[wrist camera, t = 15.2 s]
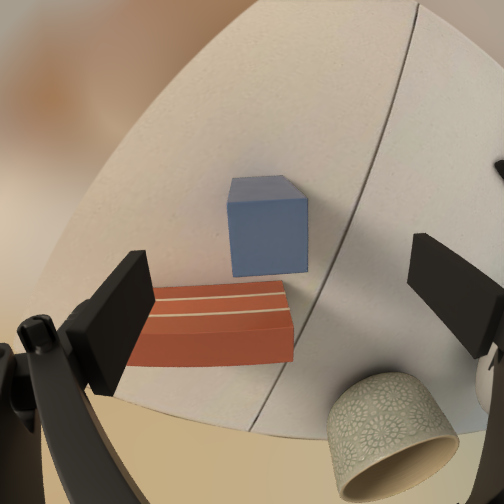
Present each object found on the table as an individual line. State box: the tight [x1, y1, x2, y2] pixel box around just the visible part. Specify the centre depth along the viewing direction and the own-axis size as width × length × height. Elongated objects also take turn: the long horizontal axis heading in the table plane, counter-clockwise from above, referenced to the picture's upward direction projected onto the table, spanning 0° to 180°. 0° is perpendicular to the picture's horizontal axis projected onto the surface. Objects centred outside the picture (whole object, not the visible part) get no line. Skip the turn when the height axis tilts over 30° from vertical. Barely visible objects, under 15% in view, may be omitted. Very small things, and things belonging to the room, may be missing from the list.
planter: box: [327, 372, 460, 503], centre depth 35 cm, size 17×17×15 cm
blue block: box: [227, 175, 308, 277], centre depth 25 cm, size 5×5×12 cm
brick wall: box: [126, 281, 294, 367], centre depth 30 cm, size 4×16×9 cm, turn 93°
